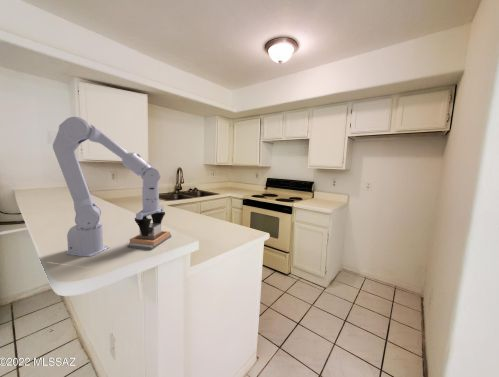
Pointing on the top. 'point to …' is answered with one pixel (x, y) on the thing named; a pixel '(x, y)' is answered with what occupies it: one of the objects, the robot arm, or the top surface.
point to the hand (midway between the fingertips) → (151, 232)
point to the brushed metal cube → (152, 232)
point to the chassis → (148, 241)
